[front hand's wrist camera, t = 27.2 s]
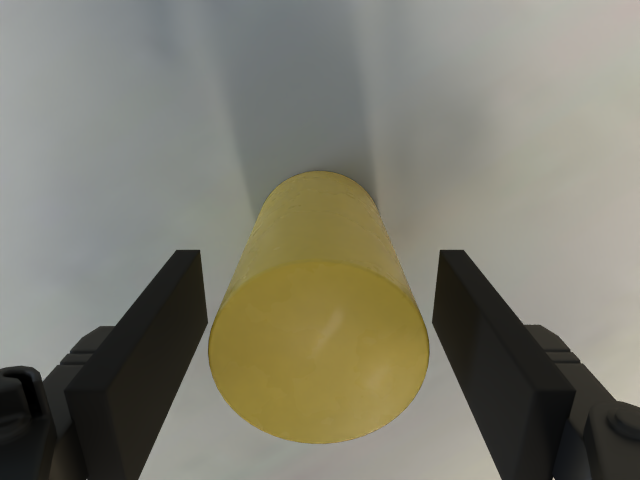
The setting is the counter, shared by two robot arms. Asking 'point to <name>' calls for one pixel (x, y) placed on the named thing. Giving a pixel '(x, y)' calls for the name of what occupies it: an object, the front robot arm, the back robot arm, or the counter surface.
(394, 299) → the yellow cylinder
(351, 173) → the counter surface
